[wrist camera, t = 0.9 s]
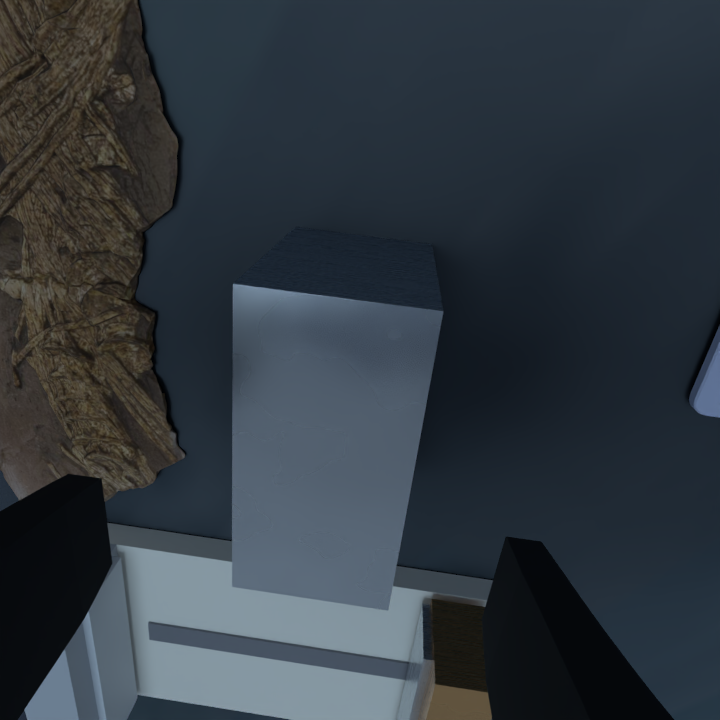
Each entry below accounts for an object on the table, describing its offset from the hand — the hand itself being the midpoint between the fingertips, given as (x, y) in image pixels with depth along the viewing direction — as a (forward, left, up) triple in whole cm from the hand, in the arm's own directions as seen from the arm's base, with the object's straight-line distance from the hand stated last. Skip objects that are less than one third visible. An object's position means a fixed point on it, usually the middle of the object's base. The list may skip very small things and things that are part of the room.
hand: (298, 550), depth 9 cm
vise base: (+1, +13, -8) cm, 15 cm away
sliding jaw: (-5, +13, -7) cm, 16 cm away
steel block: (0, 0, -8) cm, 8 cm away
